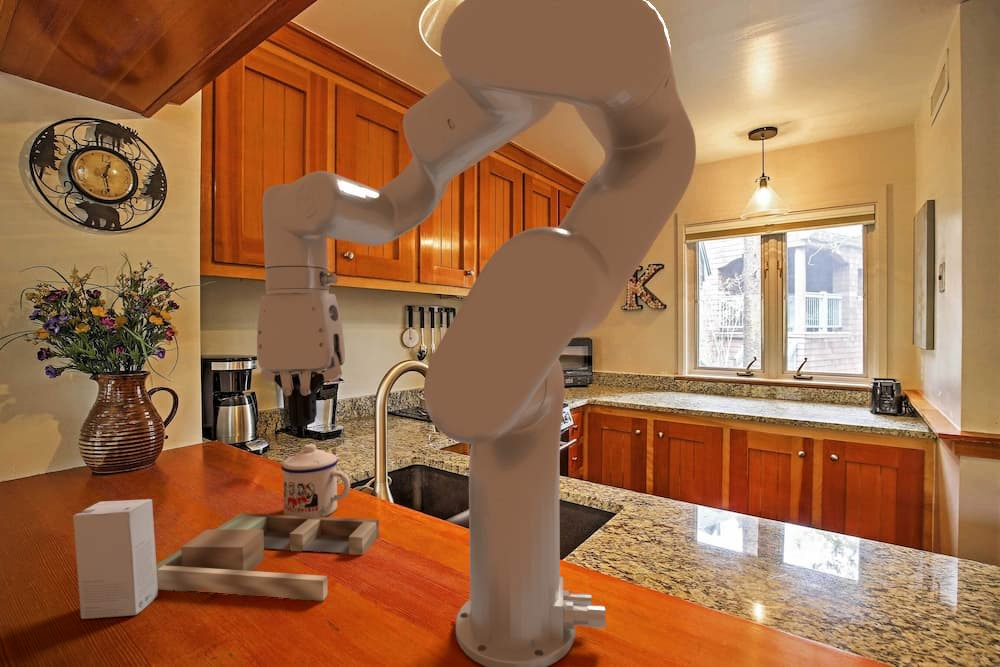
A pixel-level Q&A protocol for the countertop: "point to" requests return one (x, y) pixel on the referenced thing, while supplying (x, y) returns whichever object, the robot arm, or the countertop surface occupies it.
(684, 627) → the countertop surface
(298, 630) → the countertop surface
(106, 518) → the skincare box
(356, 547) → the tray
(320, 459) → the teacup with lid
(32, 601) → the countertop surface
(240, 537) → the block
